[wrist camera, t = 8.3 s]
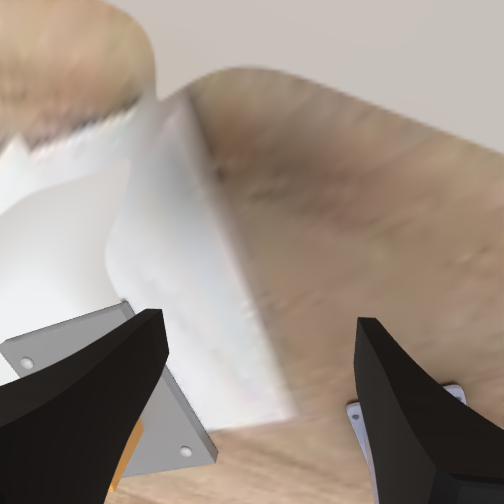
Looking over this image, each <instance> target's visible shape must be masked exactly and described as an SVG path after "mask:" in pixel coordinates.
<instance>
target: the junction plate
mask: <svg viewBox="0 0 504 504" xmlns="http://www.w3.org/2000/svg"><path fill="white" fill-rule="evenodd" d="M133 316H135V314H134V312H133V311H132V309H131V307H130V306H129V304H128V302H127V301H126V302H123V303H120V304H117V305H114V306H110V307H107V308H104V309H101V310H98V311H95V312H92V313H89V314H85V315H83V316H79V317H76V318H73V319H70V320H67V321H63V322H60V323H57V324H54V325H51V326H48V327H45V328H42V329H38V330H35V331H32V332H29V333H26V334H23V335H20V336H16V337H13V338H11V339H7V340H5V341H4V342H3V343H2V344H0V353H1V354H2V355H3V357H4V358H5V359H6V360H7V362H8V363H9V364H10V365H11V367H12V368H13V369H14V370H15V372H16V373H17V374H18V376H19V377H20V378H22V377H25V376H27V375H29V374H32V373H34V372H37V371H39V370H41V369H44V368H46V367H48V366H50V365H52V364H54V363H56V362H58V361H60V360H62V359H64V358H66V357H68V356H70V355H72V354H74V353H75V352H77V351H79V350H81V349H82V348H84V347H86V346H87V345H89V344H91V343H92V342H94V341H96V340H97V339H99V338H101V337H102V336H104V335H106V334H107V333H109V332H110V331H112V330H113V329H115V328H116V327H118V326H120V325H121V324H123V323H124V322H126V321H127V320H129V319H130V318H132V317H133ZM140 418H141V422H142V426H143V430H144V431H143V433H142V436H141V438H140V440H139V442H138V444H137V446H136V448H135V450H134V452H133V454H132V456H131V458H130V460H129V462H128V464H127V466H126V468H125V471H124V473H123V475H122V477H121V478H124V477H130V476H137V475H143V474H150V473H156V472H163V471H170V470H176V469H183V468H189V467H196V466H202V465H209V464H215V463H216V459H217V455H218V451H217V450H216V448H215V447H214V445H213V443H212V442H211V440H210V438H209V437H208V435H207V433H206V432H205V430H204V428H203V427H202V425H201V423H200V422H199V420H198V418H197V417H196V415H195V413H194V412H193V410H192V408H191V407H190V405H189V403H188V402H187V400H186V398H185V397H184V395H183V393H182V392H181V390H180V388H179V387H178V385H177V384H176V382H175V380H174V379H173V377H172V375H171V374H170V372H169V370H168V369H167V367H166V365H165V367H164V369H163V372H162V375H161V377H160V379H159V381H158V383H157V385H156V387H155V389H154V391H153V393H152V395H151V397H150V399H149V400H148V402H147V404H146V406H145V408H144V410H143V412H142V414H141V416H140Z"/></svg>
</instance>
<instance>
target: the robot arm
mask: <svg viewBox="0 0 504 504" xmlns="http://www.w3.org/2000/svg"><path fill="white" fill-rule="evenodd" d="M168 355H169V348H168V342H167V336H166V330H165V324H164V319H163V313H162V309H145V310H143V311H141V312H140V313H138V314H137V315H135V316H133V317H132V318H130V319H129V320H127V321H126V322H124V323H123V324H121V325H120V326H118V327H116V328H115V329H113V330H112V331H110V332H109V333H107V334H106V335H104V336H102V337H101V338H99V339H97V340H96V341H94V342H92V343H91V344H89V345H87V346H86V347H84V348H82V349H81V350H79V351H77V352H75V353H74V354H72V355H70V356H68V357H66V358H64V359H62V360H60V361H58V362H56V363H54V364H52V365H50V366H48V367H46V368H44V369H41V370H39V371H37V372H34V373H32V374H29V375H27V376H25V377H22V378H20V379H18V380H15V381H13V382H10V383H7V384H5V385H2V386H0V504H104V501H105V498H106V495H107V493H108V490H109V487H110V485H111V482H112V479H113V477H114V474H115V471H116V469H117V466H118V464H119V461H120V459H121V456H122V454H123V451H124V449H125V446H126V444H127V441H128V439H129V437H130V435H131V433H132V431H133V429H134V427H135V425H136V423H137V421H138V419H139V417H140V416H141V414H142V412H143V410H144V408H145V406H146V404H147V402H148V400H149V399H150V397H151V395H152V393H153V391H154V389H155V387H156V385H157V383H158V381H159V379H160V377H161V375H162V372H163V369H164V367H165V364H166V361H167V358H168ZM354 372H355V381H356V390H357V394H358V399H359V402H357V403H351V404H349V405H347V407H346V409H347V414H348V417H349V419H350V422H351V424H352V426H353V429H354V431H355V434H356V436H357V439H358V441H359V444H360V446H361V448H362V451H363V453H364V456H365V458H366V461H367V463H368V466H369V472H370V478H371V484H372V490H373V496H374V502H375V504H504V430H503V429H501V428H500V427H498V426H496V425H495V424H493V423H492V422H490V421H489V420H487V419H485V418H484V417H483V416H481V415H480V414H478V413H477V412H475V411H474V410H472V409H471V408H470V407H468V406H467V403H466V399H465V395H464V392H463V390H462V388H461V387H460V386H459V385H449V386H444V387H442V386H441V385H440V384H438V383H437V382H436V381H435V380H434V379H433V378H431V377H430V376H429V375H428V374H427V373H426V372H425V371H424V370H423V369H422V368H421V367H420V366H419V365H418V364H417V363H416V362H415V361H414V360H413V359H412V358H411V357H410V356H409V355H408V354H407V353H406V352H405V351H404V350H403V349H402V348H401V347H400V345H399V344H398V343H397V342H396V341H395V340H394V339H393V337H392V336H391V335H390V334H389V333H388V332H387V330H386V329H385V328H384V327H383V325H382V324H381V323H380V322H379V321H378V320H377V319H376V318H366V317H358V319H357V331H356V342H355V353H354ZM456 397H457V398H456ZM355 414H356V415H355Z"/></svg>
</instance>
